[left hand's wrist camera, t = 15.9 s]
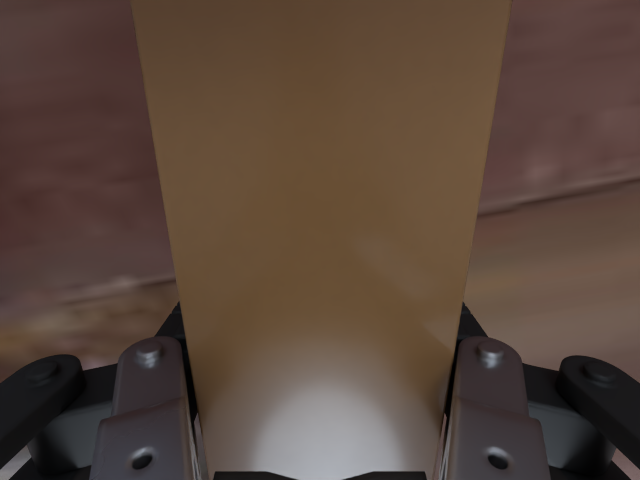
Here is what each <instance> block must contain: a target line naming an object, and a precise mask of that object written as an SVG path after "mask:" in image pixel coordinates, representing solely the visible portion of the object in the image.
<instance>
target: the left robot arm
mask: <svg viewBox="0 0 640 480" xmlns="http://www.w3.org/2000/svg"><path fill="white" fill-rule="evenodd" d="M197 413H198V409H197V403H196V397H195V391H194V385H193V379H192V373H191V367H190V361H189V355H188V349H187V343H186V337H185V331H184V325H183V319H182V312H181V306H180V301H179V302H178V304H177V306H175V308H174V309H173V311H172V314H170V315H169V316H168V318H167V319H166V321H165V322H164V324H163V325H162V326H161V328H160V329H159V331H158V332H157V334H156V335H155V336H154V337H151V338H147V339H144V340H141V341H139V342H137V343H135V344H133V345H131V346H130V347H128V348H127V349H126V350H125V351H124V352H123V353H122V354H121V356H120V357H119V360H118V363H117V364H113V365H108V366H103V367H99V368H94V369H89V370H84V371H83V370H82V366H81V363H80V360H79V359H78V358H77V357H75V356H73V355H66V354H63V355H54V356H49V357H46V358H42V359H39V360H37V361H34V362H32V363H30V364H28V365H26V366H24V367H23V368H21V369H20V370H18V371H17V372H15V373H14V374H13V375H11V376H10V377H8V378H7V379H6V380H4V381H3V382H1V383H0V469H1V468H2V467H3V466H4V465H6V464H7V463H8V462H9V461H10V460H11V459H12V458H13V457H14V456H15V455H16V454H17V453H18V452H19V451H20V450H21V449H23V448H24V447H25V446H26V445H27V447H28V449H29V452H30V454H31V458H30V459H29V460H28V461H27V462H26V463H25V464H24V465H23V466H22V467H21V468H20V469H19V470H18V471H17V472H16V473H15V474H14V475H13V476H12V477H11V478H10V479H9V480H201V472H200V464H199V456H198V448H197V440H196V432H195V425H194V420H195V418H196V415H197ZM445 414H446V417H447V420H446V425H445V432H444V440H443V448H442V456H441V464H440V472H439V480H631V479H630V478H629V477H628V476H627V475H626V474H625V473H624V472H623V471H622V470H621V469H620V468H619V467H618V466H617V465H616V464H615V463H614V462H613V461H612V460H611V459H612V457H613V455H614V452H615V450H616V448H618V449H619V450H620V451H621V452H622V453H623V454H624V455H625V456H626V457H627V458H628V459H629V460H630V461H631V462H632V463H633V464H634V465H636V466H637V467H638V468H639V469H640V383H639V382H637V381H636V380H634V379H633V378H632V377H630V376H629V375H627V374H626V373H625V372H623V371H622V370H620V369H619V368H617V367H615V366H613V365H611V364H609V363H607V362H604V361H602V360H599V359H596V358H592V357H587V356H577V355H576V356H569V357H566V358H564V359H563V360H562V362H561V365H560V368H559V371H555V370H551V369H546V368H541V367H536V366H532V365H528V364H524V363H522V360H521V357H520V356H519V354H518V353H517V352H516V351H515V350H514V349H513V348H512V347H510V346H509V345H507V344H505V343H503V342H501V341H499V340H496V339H493V338H489V337H488V336H487V335H486V333H485V332H484V330H483V329H482V328H481V326H480V325H479V323H478V322H477V321H476V319H475V318H474V316H473V315H472V314H471V312H470V311H469V309H468V308H467V306H465V304H464V302H463V303H462V309H461V315H460V322H459V328H458V334H457V340H456V346H455V352H454V358H453V364H452V370H451V376H450V382H449V388H448V394H447V400H446V407H445ZM213 480H297V479H294V478H290V477H286V476H282V475H279V474H275V473H271V472H267V471H215V474H214V477H213ZM343 480H427V477H426V474H425V471H373V472H369V473H365V474H361V475H358V476H354V477H350V478H346V479H343Z"/></svg>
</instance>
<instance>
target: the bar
mask: <svg viewBox="0 0 640 480" xmlns="http://www.w3.org/2000/svg"><path fill="white" fill-rule="evenodd" d="M130 4H131V10H132V16H133V22H134V28H135V34H136V40H137V47H138V53H139V59H140V65H141V71H142V77H143V83H144V89H145V95H146V101H147V107H148V113H149V119H150V125H151V131H152V137H153V143H154V149H155V155H156V161H157V167H158V173H159V179H160V186H161V192H162V198H163V204H164V210H165V216H166V222H167V228H168V234H169V240H170V246H171V252H172V258H173V264H174V270H175V276H176V282H177V288H178V294H179V300H180V306H181V312H182V319H183V325H184V331H185V337H186V343H187V349H188V355H189V361H190V367H191V373H192V379H193V385H194V391H195V397H196V403H197V409H198V415H199V421H200V427H201V433H202V439H203V445H204V451H205V458H206V464H207V470H208V476H209V480H213V477H214V474H215V471H267V472H271V473H275V474H279V475H282V476H286V477H290V478H294V479H297V480H343V479H346V478H350V477H354V476H358V475H361V474H365V473H369V472H373V471H425V474H426V477H427V480H433V479H434V473H435V467H436V461H437V455H438V449H439V443H440V437H441V431H442V425H443V419H444V413H445V407H446V400H447V394H448V388H449V382H450V376H451V370H452V364H453V358H454V352H455V346H456V340H457V334H458V328H459V322H460V315H461V309H462V303H463V297H464V291H465V285H466V279H467V273H468V267H469V261H470V255H471V249H472V243H473V236H474V230H475V224H476V218H477V212H478V206H479V200H480V194H481V188H482V182H483V176H484V170H485V164H486V158H487V151H488V145H489V139H490V133H491V127H492V121H493V115H494V109H495V103H496V97H497V91H498V85H499V79H500V73H501V66H502V60H503V54H504V48H505V42H506V36H507V30H508V24H509V18H510V12H511V6H512V0H130Z"/></svg>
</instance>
